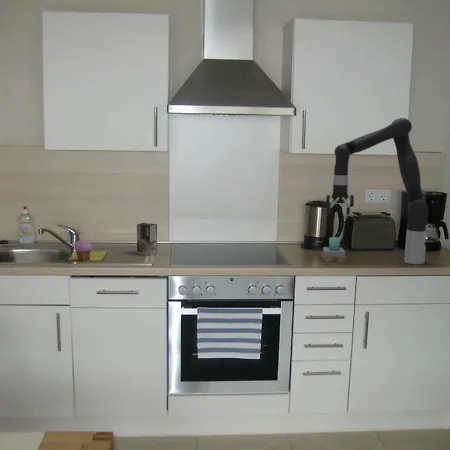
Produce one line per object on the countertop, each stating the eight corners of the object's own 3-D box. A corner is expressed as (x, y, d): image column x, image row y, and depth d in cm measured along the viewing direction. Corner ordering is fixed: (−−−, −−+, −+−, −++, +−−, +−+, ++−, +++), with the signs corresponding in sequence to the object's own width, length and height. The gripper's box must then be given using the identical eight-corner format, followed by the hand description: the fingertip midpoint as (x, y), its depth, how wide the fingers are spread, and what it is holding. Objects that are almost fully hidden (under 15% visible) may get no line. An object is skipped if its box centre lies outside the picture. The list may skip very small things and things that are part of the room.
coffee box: (157, 253, 290) (157, 224, 288) (150, 255, 285) (149, 225, 282) (144, 251, 295) (144, 222, 292) (136, 253, 290) (136, 223, 287)
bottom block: (342, 258, 292) (342, 252, 292) (347, 263, 280) (347, 257, 280) (319, 257, 292) (320, 252, 291) (324, 263, 280) (324, 257, 280)
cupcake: (84, 262, 268) (83, 242, 266) (70, 260, 272) (70, 240, 270) (96, 259, 276) (95, 239, 274) (83, 257, 280) (82, 238, 278)
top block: (341, 253, 290) (341, 247, 290) (344, 257, 281) (345, 251, 280) (322, 252, 291) (323, 247, 290) (325, 257, 281) (325, 251, 280)
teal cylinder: (338, 248, 288) (338, 237, 287) (340, 250, 283) (340, 238, 282) (328, 248, 288) (328, 237, 287) (330, 250, 282) (330, 239, 281)
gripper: (352, 183, 285) (350, 213, 287) (325, 183, 284) (324, 213, 287) (356, 184, 277) (354, 215, 280) (328, 184, 277) (327, 215, 280)
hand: (339, 214), depth 283 cm, fingers open, 8 cm apart
